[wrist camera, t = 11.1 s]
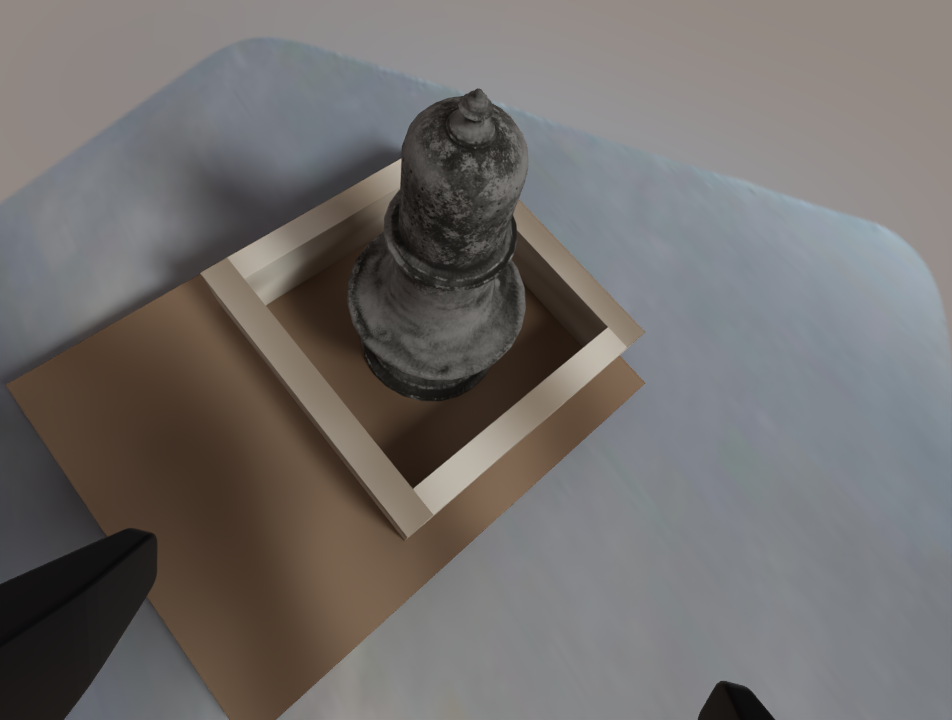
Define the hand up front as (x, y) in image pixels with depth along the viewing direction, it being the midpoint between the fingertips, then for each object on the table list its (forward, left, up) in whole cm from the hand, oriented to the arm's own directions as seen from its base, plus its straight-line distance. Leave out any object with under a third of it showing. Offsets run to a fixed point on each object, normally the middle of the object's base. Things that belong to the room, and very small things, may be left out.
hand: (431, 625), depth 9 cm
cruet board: (+3, +7, -12) cm, 14 cm away
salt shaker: (+6, +7, -11) cm, 14 cm away
